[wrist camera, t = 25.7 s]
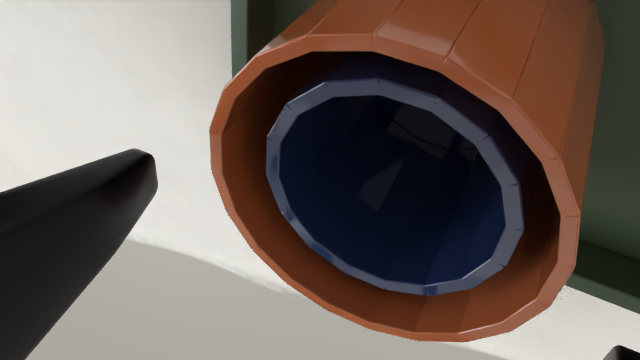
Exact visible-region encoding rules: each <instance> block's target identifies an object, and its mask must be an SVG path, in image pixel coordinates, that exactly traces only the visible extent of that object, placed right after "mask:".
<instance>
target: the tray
mask: <svg viewBox="0 0 640 360" xmlns="http://www.w3.org/2000/svg"><path fill="white" fill-rule="evenodd" d="M317 1H318V0H231V41H232V78H233V77H234V76H235V75H236V74H237V73H238V72H239V71H240V70H241V69H242V68H243V67H244V66H245V65H246V64H247V63H248V62H249V61H250V60H251V59H252V58H253V57H254V56H255V55H256V54H257V53H258V52H259V51H261V50H262V49H263V48H264V47H265V46H266V45H267V44H269V43H270V42H271V41H272V40H273V39H274V38H276V37H277V36H278V35H279V34H280V33H281V32H283V31H284V30H285V29H286V28H287V27H288V26H289V25H291V24H292V23H293V22H294V21H295V20H296V19H298V18H299V17H300V16H301V15H302V14H303V13H304V12H306V11H307V10H308V9H309V8H310V7H311V6H313V5H314V4H315V3H316V2H317ZM594 1H595V3H596V6H597V8H598V11H599V13H600V18H601V22H602V26H603V31H604V43H605V55H604V65H603V74H602V83H601V92H600V99H599V106H598V113H597V120H596V127H595V134H594V141H593V148H592V155H591V162H590V169H589V176H588V183H587V190H586V197H585V204H584V211H583V218H582V225H581V232H580V239H579V246H578V253H577V261H576V266H575V269H574V270H573V272H572V273H571V275H570V277H569V278H568V280H567V281H566V283H565V284H564V285H566V286H569V287H571V288H574V289H577V290H579V291H582V292H584V293H587V294H589V295H592V296H595V297H597V298H600V299H602V300H605V301H607V302H610V303H613V304H615V305H618V306H620V307H623V308H625V309H628V310H631V311H633V312H636V313H638V314H640V0H594Z"/></svg>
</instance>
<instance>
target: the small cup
mask: <svg viewBox="0 0 640 360" xmlns="http://www.w3.org/2000/svg"><path fill="white" fill-rule="evenodd" d="M540 167H541V161H540V160H539V159H538V158H537V156H536V155H535V154H534V153H533V152H532V150H531V149H530V148H529V147H528V146H527V144H526V143H525V142H524V141H523V140H522V138H521V137H520V136H519V135H518V134H517V132H516V131H515V130H514V129H513V128H512V126H511V125H510V124H509V123H508V122H507V120H506V119H505V118H504V117H503V116H502V114H501V113H500V112H499V111H498V110H496V109H495V108H493V107H492V106H490V105H489V104H487V103H486V102H484V101H482V100H481V99H479V98H478V97H476V96H475V95H473V94H472V93H470V92H469V91H467V90H466V89H464V88H463V87H461V86H460V85H458V84H457V83H455V82H454V81H452V80H451V79H449V78H448V77H446V76H445V75H443V74H441V73H440V72H438V71H435V70H431V69H428V68H425V67H422V66H419V65H415V64H412V63H409V62H406V61H403V60H399V59H396V58H393V57H390V56H387V55H383V54H380V53H377V52H374V51H334V52H333V53H332V54H331V56H330V57H329V58H328V59H327V60H326V61H325V62H324V63H323V64H322V65H321V66H320V67H319V68H318V69H317V70H316V72H315V73H314V74H313V75H312V76H311V77H310V78H309V79H308V80H307V81H306V82H305V83H304V84H303V85H302V86H301V88H300V89H299V90H298V91H297V92H296V93H295V94H294V95H293V96H292V97H291V98H290V99H289V100H288V101H287V102H286V104H285V105H284V107H283V109H282V110H281V112H280V114H279V115H278V117H277V119H276V121H275V122H274V124H273V126H272V127H271V129H270V131H269V132H268V134H267V138H266V177H267V180H268V182H269V185H270V188H271V190H272V193H273V195H274V198H275V200H276V203H277V205H278V208H279V211H280V212H281V214H282V215H283V216H284V218H285V219H286V220H287V221H288V223H289V224H290V225H291V226H292V228H293V229H294V230H295V231H296V232H297V234H298V235H299V236H300V237H301V239H302V240H303V241H304V242H305V244H306V245H308V247H310V248H311V249H312V250H314V251H315V252H316V253H318V254H319V255H320V256H322V257H323V258H324V259H326V260H327V261H328V262H330V263H331V264H333V265H334V266H335V267H337V268H338V269H339V270H341V271H342V272H344V273H346V274H348V275H351V276H353V277H355V278H358V279H360V280H362V281H365V282H367V283H370V284H372V285H374V286H377V287H379V288H382V289H384V290H385V289H386V290H388V291H395V292H402V293H409V294H416V295H423V296H436V295H442V294H448V293H454V292H459V291H465V290H471V289H474V288H475V287H477V286H478V285H480V284H481V283H483V282H484V281H486V280H487V279H489V278H490V277H492V276H493V275H495V274H497V273H498V272H500V271H501V270H503V269H504V268H505V267H506V266H507V265H508V263H509V261H510V259H511V257H512V255H513V253H514V251H515V249H516V247H517V245H518V243H519V241H520V239H521V237H522V235H523V233H524V231H525V227H526V223H527V219H528V215H529V211H530V207H531V203H532V199H533V195H534V191H535V187H536V183H537V179H538V175H539V171H540Z"/></svg>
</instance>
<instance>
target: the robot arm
mask: <svg viewBox="0 0 640 360" xmlns="http://www.w3.org/2000/svg"><path fill="white" fill-rule="evenodd" d="M157 188H158V180H157V173H156V166H155V160H154V157H153V156H152V155H151V154H149V153H146V152H144V151H141V150H139V149H130V150H127V151H124V152H121V153H118V154H115V155H112V156H109V157H106V158H103V159H100V160H97V161H94V162H91V163H88V164H85V165H82V166H79V167H76V168H73V169H70V170H67V171H64V172H61V173H58V174H55V175H52V176H49V177H46V178H43V179H40V180H37V181H34V182H31V183H28V184H25V185H22V186H19V187H16V188H13V189H10V190H7V191H4V192H1V193H0V360H25V359H26V358H27V357H28V355H29V354H30V353H31V352H32V351H33V350H34V348H35V347H36V346H37V345H38V344H39V342H40V341H41V340H42V339H43V338H44V336H45V335H46V334H47V333H48V332H49V331H50V330H51V328H52V327H53V326H54V325H55V323H56V322H57V321H58V320H59V319H60V318H61V316H62V315H63V314H64V313H65V312H66V311H67V309H68V308H69V307H70V306H71V305H72V303H73V302H74V301H75V300H76V299H77V298H78V296H79V295H80V294H81V293H82V292H83V291H84V289H85V288H86V287H87V286H88V285H89V284H90V282H91V281H92V280H93V279H94V278H95V276H96V275H97V274H98V273H99V271H101V269H102V268H103V267H104V266H105V265H106V263H107V262H108V261H109V260H110V259H111V257H112V256H113V255H114V254H115V252H116V251H117V250H118V248H119V247H120V245H121V244H122V243H123V241H124V240H125V238H126V237H127V235H128V234H129V232H130V231H131V230H132V228H133V227H134V225H135V224H136V222H137V221H138V219H139V218H140V216H141V215H142V213H143V212H144V210H145V209H146V207H147V206H148V204H149V203H150V201H151V200H152V199H153V197H154V195H155V194H156V191H157ZM603 360H640V353H638V352H636V351H633V350H631V349H628V348H626V347H623V346H620V345H618V346H615V347H614V348H612V349H611V351H610V352H609V353H608V354H607V355H606V357H605V358H604V359H603Z"/></svg>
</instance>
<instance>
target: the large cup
mask: <svg viewBox="0 0 640 360" xmlns="http://www.w3.org/2000/svg"><path fill="white" fill-rule="evenodd" d="M334 51H374V52H377V53H380V54H383V55H387V56H390V57H393V58H396V59H399V60H403V61H406V62H409V63H412V64H415V65H419V66H422V67H425V68H428V69H431V70H435V71H438V72H440V73H441V74H443V75H445V76H446V77H448V78H449V79H451V80H452V81H454V82H455V83H457V84H458V85H460V86H461V87H463V88H464V89H466V90H467V91H469V92H470V93H472V94H473V95H475V96H476V97H478V98H479V99H481V100H482V101H484V102H486V103H487V104H489V105H490V106H492V107H493V108H495V109H496V110H498V111H499V112H500V113H501V114H502V116H503V117H504V118H505V119H506V120H507V122H508V123H509V124H510V125H511V126H512V128H513V129H514V130H515V131H516V132H517V134H518V135H519V136H520V137H521V138H522V140H523V141H524V142H525V143H526V144H527V146H528V147H529V148H530V149H531V150H532V152H533V153H534V154H535V155H536V156H537V158H538V159H539V160H540V161H541V167H540V171H539V175H538V179H537V183H536V187H535V191H534V195H533V199H532V203H531V207H530V211H529V215H528V219H527V223H526V227H525V231H524V233H523V235H522V237H521V239H520V241H519V243H518V245H517V247H516V249H515V251H514V253H513V255H512V257H511V259H510V261H509V263H508V265H507V266H506V267H505V268H504V269H503V270H501V271H500V272H498V273H497V274H495V275H493V276H492V277H490V278H489V279H487V280H486V281H484V282H483V283H481V284H480V285H478V286H477V287H475V288H474V289H471V290H465V291H459V292H454V293H448V294H442V295H436V296H423V295H416V294H409V293H402V292H395V291H388V290H386V289H385V290H384V289H382V288H379V287H377V286H374V285H372V284H370V283H367V282H365V281H362V280H360V279H358V278H355V277H353V276H351V275H348V274H346V273H344V272H342V271H341V270H339V269H338V268H337V267H335V266H334V265H333V264H331V263H330V262H328V261H327V260H326V259H324V258H323V257H322V256H320V255H319V254H318V253H316V252H315V251H314V250H312V249H311V248H310V247H308V245H306V244H305V242H304V241H303V240H302V239H301V237H300V236H299V235H298V234H297V232H296V231H295V230H294V229H293V228H292V226H291V225H290V224H289V223H288V221H287V220H286V219H285V218H284V216H283V215H282V214H281V212H280V211H279V208H278V205H277V203H276V200H275V198H274V195H273V193H272V190H271V188H270V185H269V182H268V180H267V177H266V138H267V134H268V132H269V131H270V129H271V127H272V126H273V124H274V122H275V121H276V119H277V117H278V115H279V114H280V112H281V110H282V109H283V107H284V105H285V104H286V102H287V101H288V100H289V99H290V98H291V97H292V96H293V95H294V94H295V93H296V92H297V91H298V90H299V89H300V88H301V86H302V85H303V84H304V83H305V82H306V81H307V80H308V79H309V78H310V77H311V76H312V75H313V74H314V73H315V72H316V70H317V69H318V68H319V67H320V66H321V65H322V64H323V63H324V62H325V61H326V60H327V59H328V58H329V57H330V56H331V54H332V53H333V52H334ZM604 55H605V43H604V31H603V26H602V22H601V18H600V13H599V11H598V8H597V6H596V3H595V1H594V0H318V1H317V2H316V3H315V4H314V5H313V6H311V7H310V8H309V9H308V10H307V11H306V12H304V13H303V14H302V15H301V16H300V17H299V18H298V19H296V20H295V21H294V22H293V23H292V24H291V25H289V26H288V27H287V28H286V29H285V30H284V31H283V32H281V33H280V34H279V35H278V36H277V37H276V38H274V39H273V40H272V41H271V42H270V43H269V44H267V45H266V46H265V47H264V48H263V49H262V50H261V51H259V52H258V53H257V54H256V55H255V56H254V57H253V58H252V59H251V60H250V61H249V62H248V63H247V64H246V65H245V66H244V67H243V68H242V69H241V70H240V71H239V72H238V73H237V74H236V75H235V76H234V77H233V78H232V80H231V81H230V82H229V83H228V84H227V85H226V86H225V87H224V89H223V91H222V93H221V96H220V99H219V102H218V105H217V108H216V111H215V114H214V117H213V120H212V123H211V125H210V130H209V133H210V152H211V170H212V174H213V177H214V179H215V182H216V185H217V188H218V190H219V193H220V196H221V198H222V201H223V204H224V206H225V209H226V211H227V213H228V215H229V216H230V218H231V219H232V221H233V222H234V224H235V225H236V227H237V228H238V230H239V231H240V233H241V234H242V236H243V237H244V239H245V240H246V242H247V243H248V245H249V246H250V247H251V249H253V251H254V252H255V253H256V254H257V255H258V256H259V257H260V258H261V259H262V260H263V261H264V262H265V263H266V264H267V265H268V266H269V267H270V268H271V269H272V270H273V271H274V272H275V273H276V274H277V275H278V276H279V277H280V278H281V279H282V280H283V281H284V282H286V283H287V284H288V285H290V286H291V287H293V288H294V289H296V290H297V291H299V292H300V293H302V294H303V295H305V296H306V297H308V298H309V299H310V300H312V301H313V302H315V303H316V304H318V305H319V306H321V307H322V308H324V309H326V310H328V311H330V312H332V313H334V314H336V315H339V316H341V317H343V318H345V319H347V320H350V321H352V322H354V323H356V324H359V325H361V326H363V327H365V328H368V329H371V330H374V331H378V332H383V333H387V334H391V335H395V336H399V337H403V338H407V339H411V340H415V341H416V340H418V341H438V342H469V341H473V340H477V339H481V338H486V337H490V336H494V335H498V334H503V333H507V332H510V331H513V330H514V329H516V328H517V327H519V326H520V325H522V324H524V323H525V322H527V321H528V320H530V319H531V318H533V317H535V316H536V315H538V314H539V313H541V312H542V311H544V310H546V309H547V308H549V306H551V304H552V303H553V301H554V300H555V298H556V297H557V295H558V294H559V292H560V290H561V289H562V287H563V286H564V284H565V283H566V281H567V280H568V278H569V277H570V275H571V273H572V272H573V270H574V269H575V266H576V261H577V253H578V246H579V239H580V232H581V225H582V218H583V211H584V204H585V197H586V190H587V183H588V176H589V169H590V162H591V155H592V148H593V141H594V134H595V127H596V120H597V113H598V106H599V99H600V92H601V83H602V74H603V65H604Z"/></svg>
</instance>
